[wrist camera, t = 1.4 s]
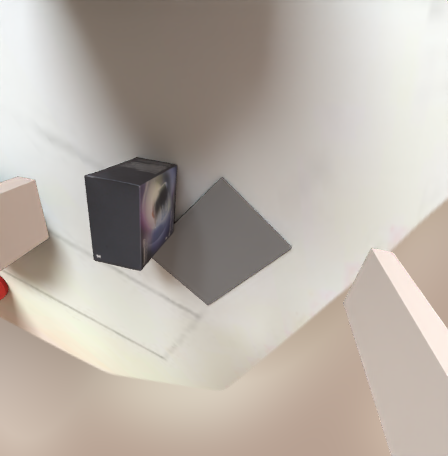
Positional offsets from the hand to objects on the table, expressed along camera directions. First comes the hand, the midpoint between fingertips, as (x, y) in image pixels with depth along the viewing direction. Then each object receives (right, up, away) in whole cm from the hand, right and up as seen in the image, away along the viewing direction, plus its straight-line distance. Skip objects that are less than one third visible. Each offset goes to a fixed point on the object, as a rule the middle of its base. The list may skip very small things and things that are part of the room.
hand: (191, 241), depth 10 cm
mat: (0, -3, +29) cm, 29 cm away
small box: (-8, +5, +27) cm, 29 cm away
